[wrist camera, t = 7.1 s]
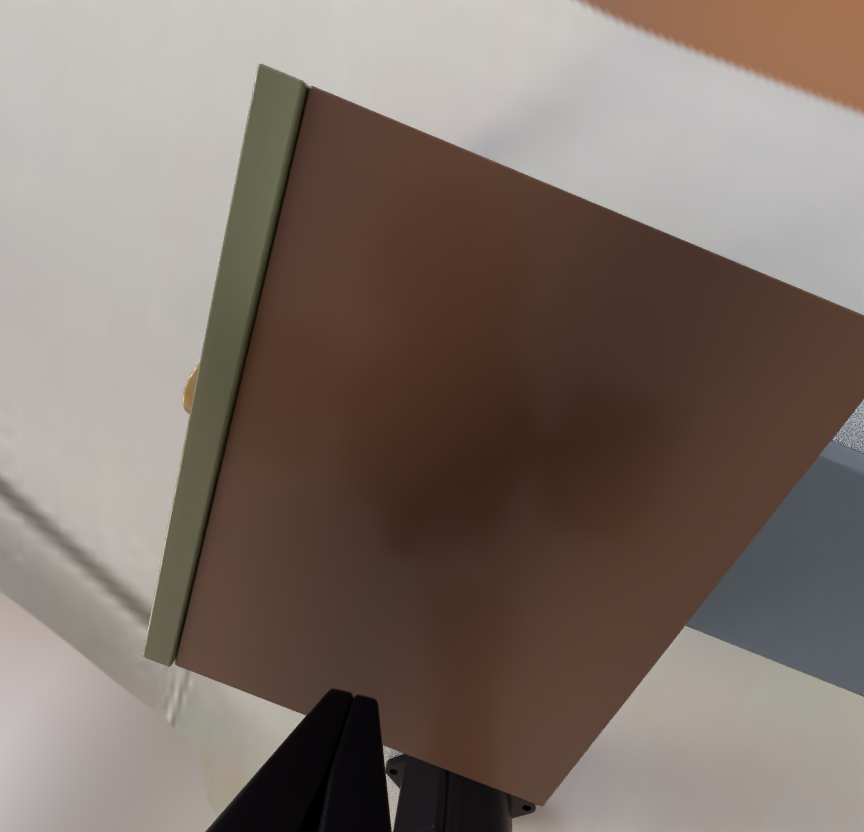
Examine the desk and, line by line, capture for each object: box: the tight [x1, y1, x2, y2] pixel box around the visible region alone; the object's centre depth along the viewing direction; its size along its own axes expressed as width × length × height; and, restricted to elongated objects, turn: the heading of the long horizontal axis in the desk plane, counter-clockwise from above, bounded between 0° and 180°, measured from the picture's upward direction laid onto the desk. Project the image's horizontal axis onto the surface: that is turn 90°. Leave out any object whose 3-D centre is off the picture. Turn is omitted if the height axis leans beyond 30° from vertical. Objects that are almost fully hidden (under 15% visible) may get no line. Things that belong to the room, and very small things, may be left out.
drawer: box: [143, 64, 310, 667], centre depth 11 cm, size 11×13×4 cm
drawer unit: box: [175, 86, 864, 806], centre depth 14 cm, size 10×13×10 cm
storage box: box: [685, 440, 864, 697], centre depth 17 cm, size 14×7×5 cm, turn 69°
